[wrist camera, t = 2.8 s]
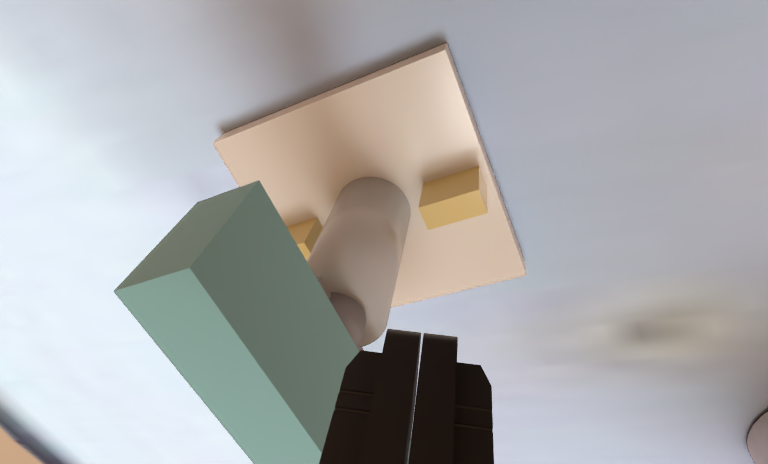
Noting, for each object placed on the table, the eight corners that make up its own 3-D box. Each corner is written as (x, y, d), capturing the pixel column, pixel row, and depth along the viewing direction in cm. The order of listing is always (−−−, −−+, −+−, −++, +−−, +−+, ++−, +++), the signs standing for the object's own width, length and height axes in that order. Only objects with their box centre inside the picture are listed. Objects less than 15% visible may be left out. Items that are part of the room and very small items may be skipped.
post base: (524, 260, 33) (541, 393, 24) (327, 309, 37) (280, 435, 28) (447, 42, 26) (430, 112, 18) (223, 133, 31) (122, 224, 22)
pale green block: (427, 424, 26) (411, 579, 20) (378, 431, 26) (350, 582, 21) (278, 156, 19) (189, 268, 13) (220, 177, 20) (113, 291, 14)
